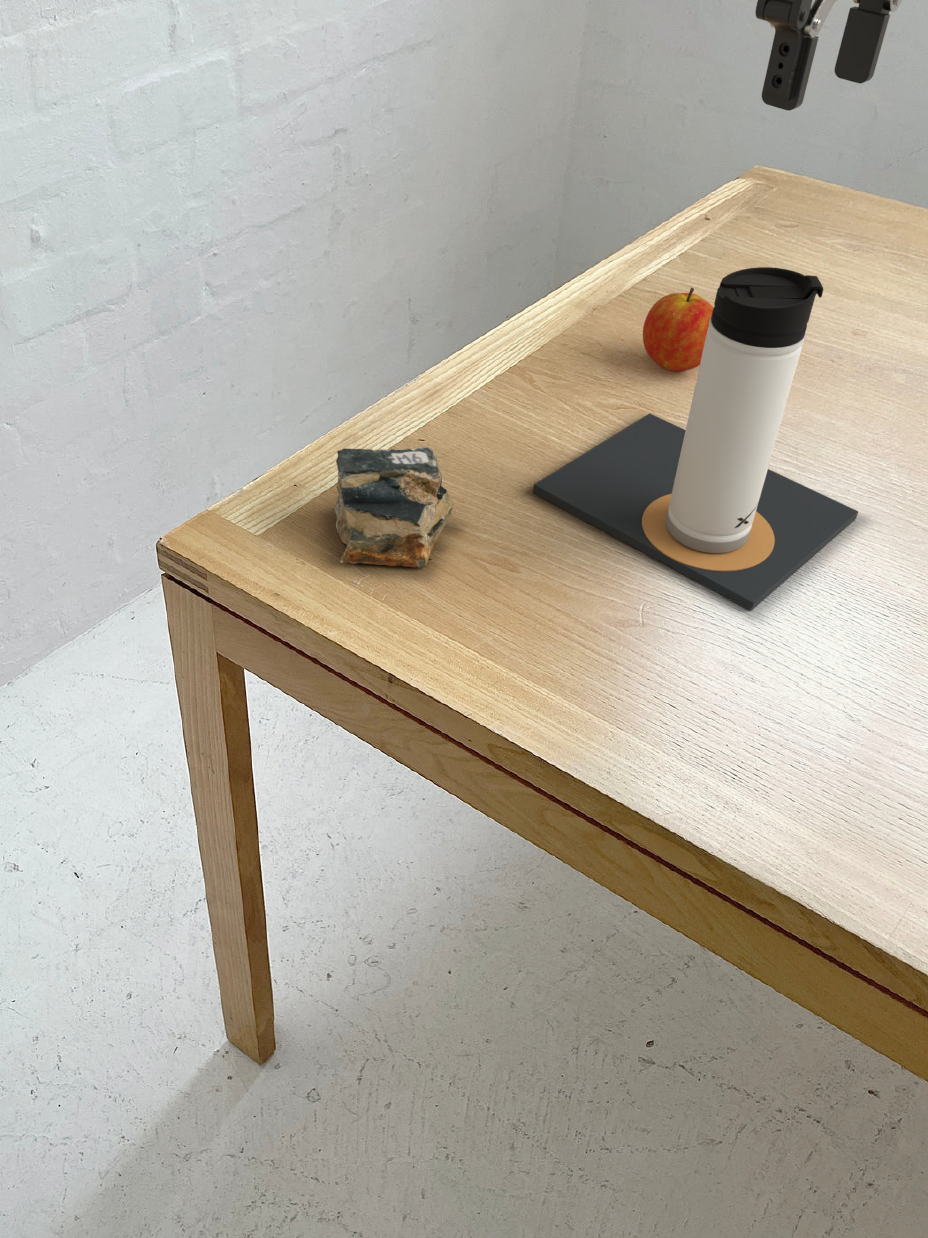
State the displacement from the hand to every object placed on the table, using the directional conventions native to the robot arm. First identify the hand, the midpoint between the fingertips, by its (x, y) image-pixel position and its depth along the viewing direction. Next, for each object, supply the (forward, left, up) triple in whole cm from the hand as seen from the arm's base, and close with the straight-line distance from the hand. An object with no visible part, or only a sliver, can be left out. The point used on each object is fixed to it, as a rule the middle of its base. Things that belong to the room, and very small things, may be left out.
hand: (817, 92), depth 65 cm
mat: (+3, -3, -32) cm, 32 cm away
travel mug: (0, 0, -31) cm, 31 cm away
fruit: (+17, -21, -32) cm, 42 cm away
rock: (+17, +17, -32) cm, 40 cm away
